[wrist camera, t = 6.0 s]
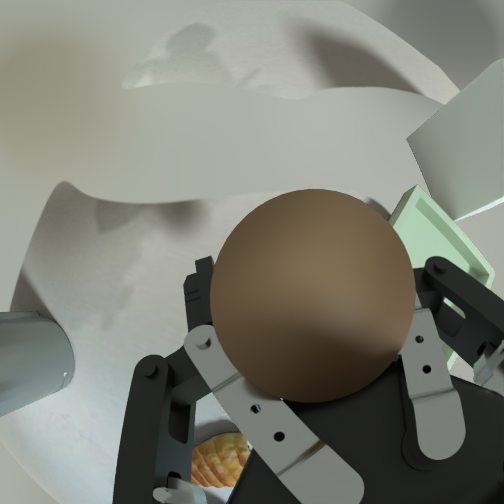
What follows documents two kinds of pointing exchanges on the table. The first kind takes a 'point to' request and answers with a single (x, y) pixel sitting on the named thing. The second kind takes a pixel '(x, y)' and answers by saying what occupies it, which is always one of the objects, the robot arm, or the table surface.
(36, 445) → the table surface
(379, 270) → the pepper mill
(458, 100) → the milk
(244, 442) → the pastry
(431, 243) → the bin
